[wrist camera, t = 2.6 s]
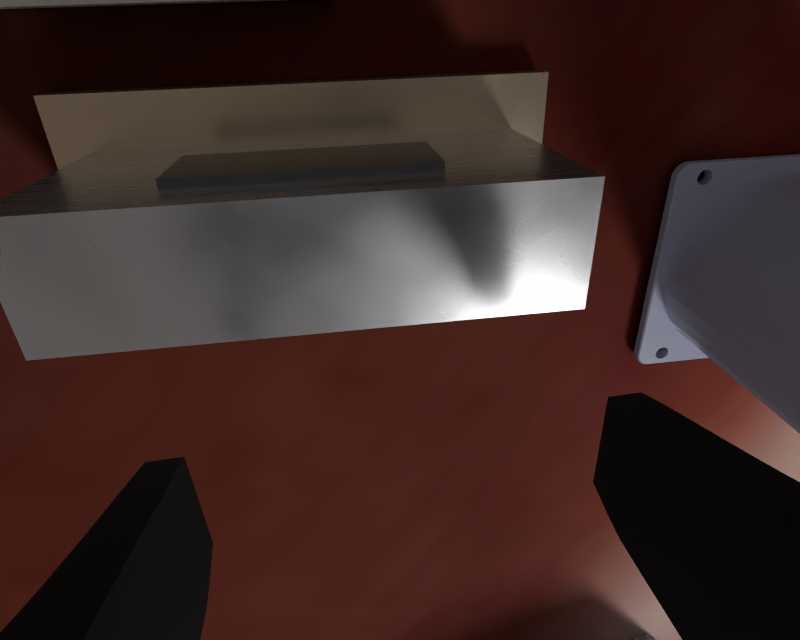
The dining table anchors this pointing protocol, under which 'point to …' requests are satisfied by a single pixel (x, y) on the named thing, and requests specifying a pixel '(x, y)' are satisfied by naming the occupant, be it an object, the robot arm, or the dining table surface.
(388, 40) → the dining table surface
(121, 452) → the dining table surface
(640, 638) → the grey curved block
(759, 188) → the robot arm
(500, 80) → the grey unit
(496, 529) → the dining table surface
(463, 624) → the dining table surface
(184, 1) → the pad
